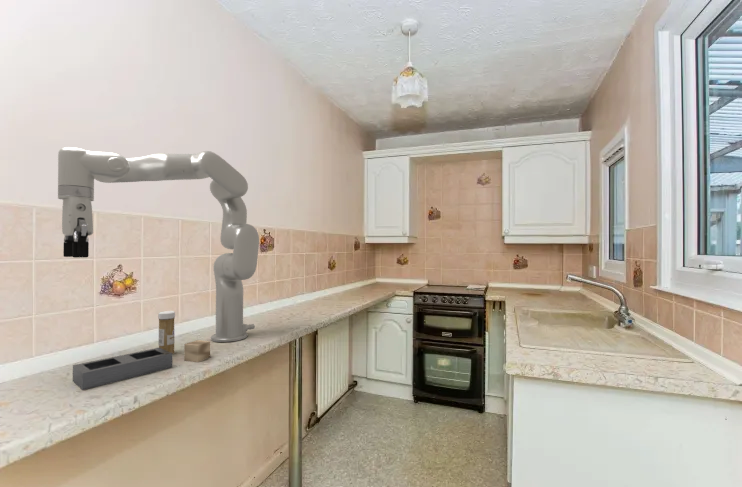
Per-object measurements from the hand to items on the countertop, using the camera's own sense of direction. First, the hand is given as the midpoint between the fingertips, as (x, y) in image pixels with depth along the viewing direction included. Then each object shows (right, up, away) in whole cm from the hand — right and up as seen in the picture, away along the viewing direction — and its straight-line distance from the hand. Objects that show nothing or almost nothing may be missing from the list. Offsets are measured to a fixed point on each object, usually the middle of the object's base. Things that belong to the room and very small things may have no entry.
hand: (75, 257), depth 95 cm
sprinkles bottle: (+16, -32, +15) cm, 38 cm away
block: (+28, -32, +11) cm, 43 cm away
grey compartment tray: (+15, -31, -2) cm, 35 cm away
